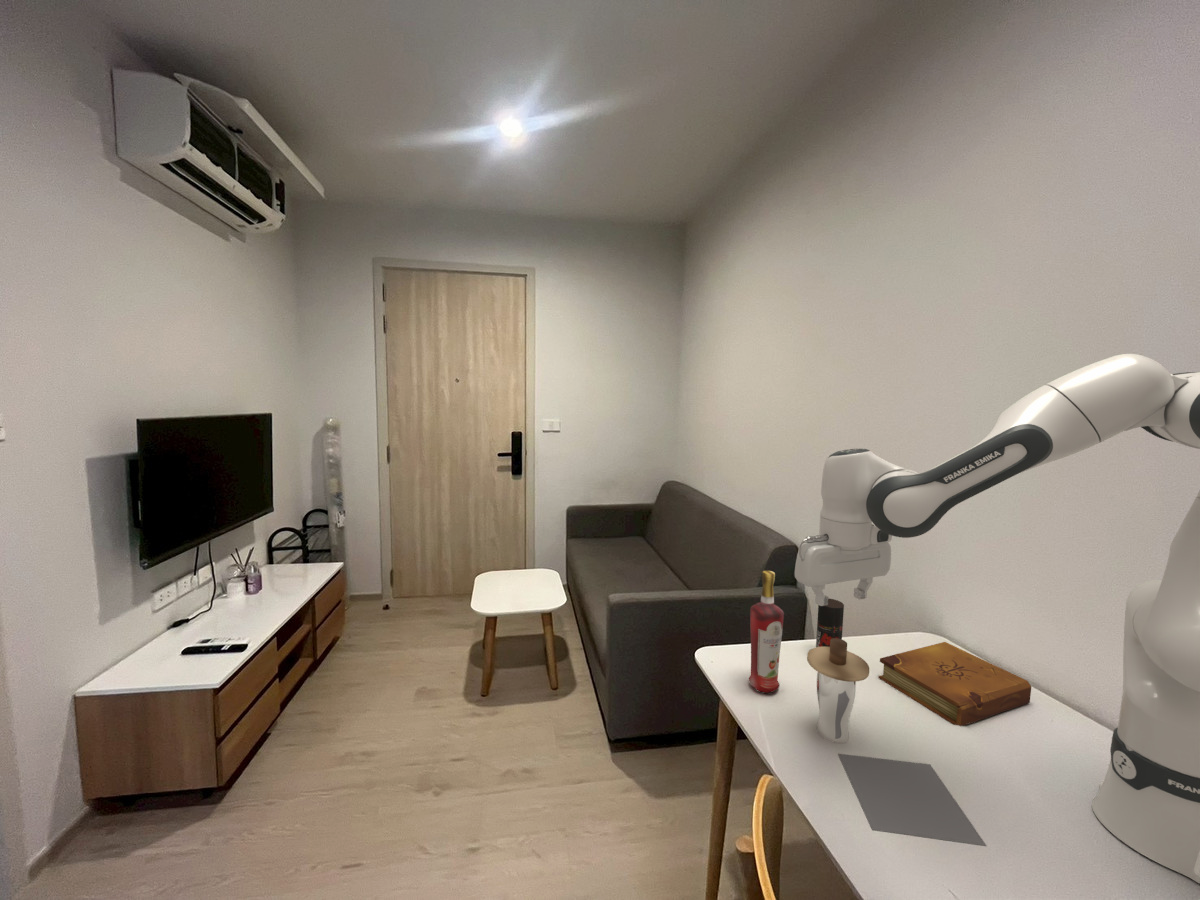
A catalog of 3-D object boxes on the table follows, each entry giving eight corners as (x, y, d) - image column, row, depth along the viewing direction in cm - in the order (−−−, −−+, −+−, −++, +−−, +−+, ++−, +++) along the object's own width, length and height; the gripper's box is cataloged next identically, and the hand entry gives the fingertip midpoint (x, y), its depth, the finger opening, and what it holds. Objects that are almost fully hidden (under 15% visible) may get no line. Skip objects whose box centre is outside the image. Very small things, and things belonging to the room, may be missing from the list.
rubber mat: (930, 767, 86) (930, 764, 86) (986, 849, 70) (986, 845, 70) (837, 756, 89) (837, 753, 89) (871, 833, 73) (872, 829, 73)
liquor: (768, 676, 114) (773, 565, 111) (786, 694, 107) (792, 577, 104) (741, 680, 113) (745, 568, 110) (758, 699, 106) (763, 579, 102)
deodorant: (810, 654, 124) (813, 600, 122) (827, 649, 126) (830, 596, 125) (828, 666, 119) (832, 609, 117) (845, 661, 121) (849, 605, 119)
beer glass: (857, 749, 90) (862, 677, 89) (818, 744, 92) (823, 672, 90) (846, 725, 97) (850, 657, 95) (810, 720, 98) (814, 653, 97)
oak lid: (855, 652, 97) (857, 630, 97) (879, 684, 87) (881, 659, 86) (800, 648, 99) (801, 626, 98) (816, 678, 88) (818, 654, 88)
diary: (959, 731, 96) (962, 705, 96) (878, 680, 114) (879, 658, 113) (1029, 706, 104) (1032, 682, 103) (943, 661, 122) (945, 640, 121)
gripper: (812, 542, 84) (809, 615, 85) (899, 532, 90) (894, 601, 91) (788, 532, 90) (785, 601, 91) (871, 524, 96) (867, 588, 97)
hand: (841, 601), depth 91 cm, fingers open, 8 cm apart
